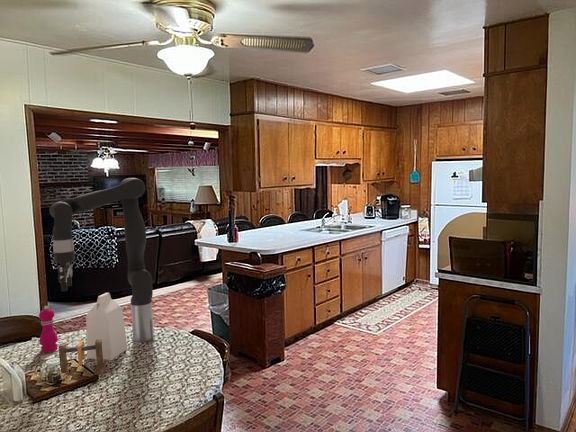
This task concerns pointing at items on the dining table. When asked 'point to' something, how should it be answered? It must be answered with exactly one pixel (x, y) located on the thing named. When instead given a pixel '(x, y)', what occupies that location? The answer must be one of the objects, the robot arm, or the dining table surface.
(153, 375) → the dining table surface
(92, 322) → the milk
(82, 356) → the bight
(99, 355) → the hook frame
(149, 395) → the dining table surface
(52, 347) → the pepper mill
